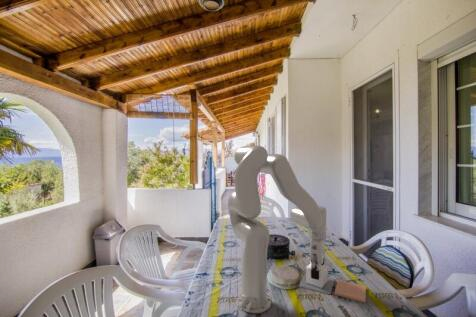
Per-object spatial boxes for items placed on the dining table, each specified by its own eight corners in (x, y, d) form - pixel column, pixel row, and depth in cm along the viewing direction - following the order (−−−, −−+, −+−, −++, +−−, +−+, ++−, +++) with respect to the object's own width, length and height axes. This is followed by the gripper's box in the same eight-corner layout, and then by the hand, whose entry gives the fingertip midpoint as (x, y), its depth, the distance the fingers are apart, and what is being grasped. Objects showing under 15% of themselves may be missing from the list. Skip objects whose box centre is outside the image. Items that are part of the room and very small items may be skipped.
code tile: (330, 294, 98) (330, 294, 98) (298, 286, 104) (298, 285, 104) (334, 280, 109) (334, 279, 109) (305, 273, 115) (305, 272, 115)
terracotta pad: (365, 302, 92) (365, 300, 92) (334, 294, 98) (334, 292, 98) (366, 288, 102) (366, 286, 102) (338, 281, 107) (338, 279, 107)
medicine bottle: (312, 276, 111) (312, 250, 111) (327, 281, 107) (328, 254, 107) (305, 282, 106) (306, 255, 106) (322, 288, 101) (322, 260, 101)
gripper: (322, 242, 96) (322, 286, 97) (329, 230, 112) (329, 268, 112) (303, 239, 100) (303, 281, 101) (312, 227, 115) (312, 264, 116)
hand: (317, 274), depth 106 cm, fingers closed on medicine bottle, 7 cm apart
